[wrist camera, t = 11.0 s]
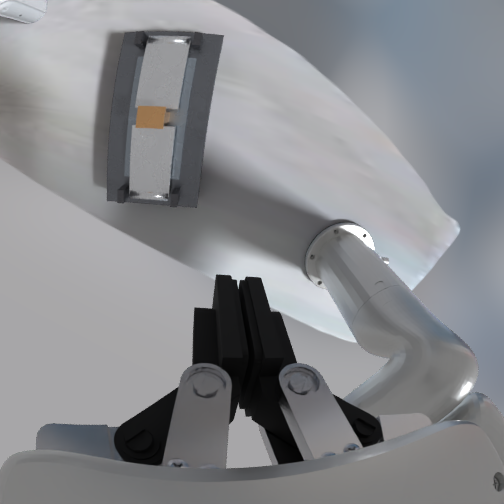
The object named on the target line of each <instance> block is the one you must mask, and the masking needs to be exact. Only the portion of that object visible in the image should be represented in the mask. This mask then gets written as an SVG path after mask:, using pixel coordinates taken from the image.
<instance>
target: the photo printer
mask: <svg viewBox="0 0 504 504" xmlns="http://www.w3.org/2000/svg"><path fill="white" fill-rule="evenodd" d="M46 10H47V0H0V16H2V17H6V18H10V19H14V20H17V21H21V22H24V23H28V24H29V23H34V22H36V21H38V20H39V19H41V18H42V17H43V16H44V14H45V13H46Z"/></svg>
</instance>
